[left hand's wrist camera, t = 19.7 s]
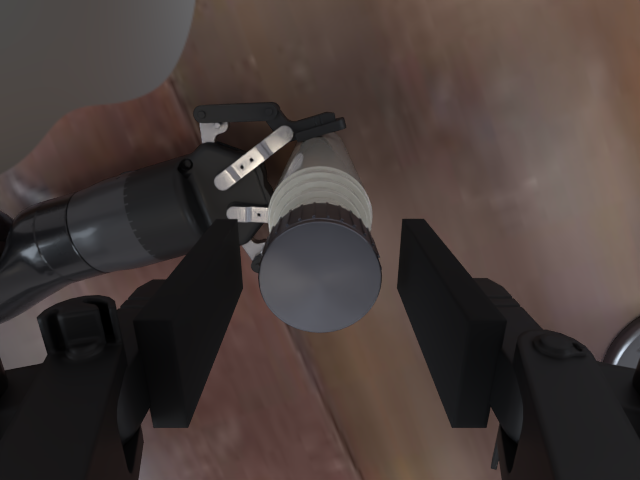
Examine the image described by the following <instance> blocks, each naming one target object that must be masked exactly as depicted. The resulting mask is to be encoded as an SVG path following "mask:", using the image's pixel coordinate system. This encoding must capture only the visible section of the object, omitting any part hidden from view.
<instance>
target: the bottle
mask: <svg viewBox="0 0 640 480" xmlns="http://www.w3.org/2000/svg"><path fill="white" fill-rule="evenodd" d="M313 202H316V203H326V202H329V204H333V205H337V206H338V205H341V207H342V208H345V209H346V210H348V211H350V210H351V211H352V212H353V214H354V215H356V216H357V217H358V218H361V219H362V222H363V224H364V225H365V227H366V228H367V227H368V228H369V231H370V232H371V225H372V207H371V203H370V200H369V197H368V195H367V193H366V191H365V189H364V186H363V184H362V182H361V180H360V178H359V176H358V173H357V171H356V169H355V167H354V165H353V163H352V161H351V158H350V156H349V154H348V152H347V150H346V148H345V145H344V143H343V141H342V140H341V138H340V137H339V136H338V135H337V134H336V133H334V132H332V133H328V134H325V135H322V136H318V137H315V138H311V139H308V140H305V141H302V142H297V143H296V145H295V147H294V149H293V152H292V154H291V156H290V158H289V160H288V162H287V165H286V167H285V169H284V171H283V173H282V175H281V178H280V180H279V182H278V184H277V186H276V188H275V191H274V193H273V195H272V197H271V200H270V203H269V207H268V226H269V232H271V229H272V227H273V226H274V227H275V225H276V224H277V222H278V221H279V218H280V217H283V216H285V215H286V214H287V213H288V212H289V210H293V209H295V208H298V207H300V206H301V205H302V204H303V205H307V204H312V203H313Z"/></svg>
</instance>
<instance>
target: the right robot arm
mask: <svg viewBox="0 0 640 480" xmlns="http://www.w3.org/2000/svg"><path fill="white" fill-rule="evenodd" d="M193 115H194V118H195V120H196V121H197V122H199V123H200V131H201V138H202V144H201V145H199V146H198V147H197V149H196V150H195V151H194V152H193V153H191V154H188V155H185V156H181V157H178V158H175V159H171V160H168V161H165V162H161V163H158V164H155V165H152V166H148V167H145V168H142V169H139V170H135V171H128V172H124V173H121V174H120V175H118V176H115V177H112V178H108V179H106V180H103V181H101V182H98V183H96V184H94V185H92V186H90V187H88V188H86V189H83V190H80V191H77V192H74V193H71V194H67V195H64V196H61V197H57V198H54V199H51V200H47V201H44V202H40V203H38V204H35V205H32V206H30V207H28V208H26V209H24V210H23V211H21V212H20V213H19V214H18V215H17V216H16V217H15V219H14V220H13V219H12V218H11V217H10V216H8V215H7V214H5V213H4V212H2V211H0V324H1V323H4V322H6V321H8V320H10V319H12V318H14V317H16V316H18V315H19V314H21V313H23V312H25V311H26V310H28V309H30V308H31V307H33V306H34V305H36V304H37V303H39V302H40V301H42V300H43V299H45V298H46V297H48V296H50V295H52V294H53V293H55V292H57V291H59V290H60V289H62V288H64V287H65V286H67V285H69V284H71V283H74V282H77V281H81V280H84V279H88V278H91V277H95V276H99V275H102V274H106V273H109V272H114V271H119V270H127V269H134V268H139V267H143V266H147V265H150V264H154V263H158V262H161V261H165V260H169V259H172V258H176V257H179V256H183V255H187V254H188V253H189V251H190V250H191V249H192V248H193V246H194V245H195V244H196V243H197V242H198V240H199V239H200V238H201V237H202V235H203V234H204V233H205V232H206V231H207V229H208V228H209V227H210V226H211V224H212V223H213V222H214V221H215V220H216V219H238V231H239V244H240V246H241V245H242V247H243V248H244V249H245V251H246V252H247V254H248V255H249V257H250V258H251V259H252V264H251V268H252V270H253V271H254V272H256V273H259V264H260V261H261V258H262V256H261V254H262V251H263V248H264V245H265V242H266V240H267V239H262V240H257V239H255V238H253V236H254V235H255V234H256V232H257V231H258V230H259V229H260V227H261V226H262V225H263V223H268V207H269V203H270V200H271V197H272V195H273V193H274V191H273V189H272V187H271V186H270V184H269V183H268V181H267V171H266V168H265V165H264V161H265V160H266V159H267V158H269V157H270V156H271V155H272V154H274V153H275V152H276V151H277V150H279V149H280V148H281V147H283V146H284V145H285V144H287V143H288V142H291V141H294V140H297V142H302V141H305V140H308V139H311V138H315V137H318V136H322V135H325V134H328V133H332V132H335V131H339V130H342V129H345V128H346V124H345V120H344V118H343V117H341V118H337V119H336V118H335V115H334V113H331V112H325V113H322V114H318V115H315V116H312V117H308V118H305V119H302V120H298V121H290V120H288V119H287V118H286V117H285V115H284V114H283V113H282V111H281V110H280V107H279V105H278V104H277V103H275V102H262V103H237V104H213V105H202V106H198V107H196V108H195V109H194V112H193ZM250 121H266V122H267V123H268V125H269V126H270V127H271V129H272V130H273V131H274V132H272V133H271V134H270V135H269V136H267V137H266V138H265V139H263V140H262V141H261V142H259V143H258V144H257V145H256V146H254V147H253V148H252V149H250V150H249V151H248V152H246V151H243V150H241V149H238V148H235V147H232V146H229V145H227V144H224V143H221V142H218V141H217V137H218V135H219V134H220V133H224V132H226V131H228V130H229V128H230V122H250Z"/></svg>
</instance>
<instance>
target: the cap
mask: <svg viewBox="0 0 640 480" xmlns="http://www.w3.org/2000/svg"><path fill="white" fill-rule="evenodd" d="M261 256H262V258H261V261H260V264H259V275H258V279H259V287H260V291H261V294H262V297H263V299H264V301H265V303H266V304H267V306H268V307H269V309H270V310H271V311H272V312H273V313H274V314H275V315H276V316H277V317H278V318H279V319H281V320H282V321H283V322H285V323H287V324H288V325H290V326H292V327H294V328H297V329H300V330H303V331H308V332H317V333H320V332H332V331H336V330H340V329H343V328H346V327H348V326H350V325H352V324H354V323H355V322H357V321H358V320H360V319H361V318H362V317H363V316H364V315H365V314H366V313H367V312H368V311H369V310H370V309H371V307H372V306H373V304H374V303H375V301H376V299H377V297H378V294H379V291H380V288H381V281H382V273H381V270H382V267H381V265H380V262H379V259H378V258H379V257H380V256H379V253H378V251H377V248H376V245H375V242H374V240H373V238H372V236H371V233H370V231H369V228H368V227H367V228H366V227H365V225H364V224H363V222H362V219H361V218H358V217H357V216H356V215H354V214H353V212H352V211H351V210H350V211H348V210H346V209H345V208H342V207H341V205H338V206H337V205H333V204H329V202H326V203H316V202H313V203H312V204H307V205H303V204H302V205H301V206H300V207H298V208H295V209H293V210H289V212H288V213H287V214H286V215H285V216H283V217H280V218H279V221H278V222H277V224H276V225H275V227H274V226H273V227H272V229H271V232H270V235H269V237H267V240H266V242H265V245H264V248H263V251H262V254H261Z"/></svg>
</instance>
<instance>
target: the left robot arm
mask: <svg viewBox="0 0 640 480" xmlns="http://www.w3.org/2000/svg"><path fill="white" fill-rule="evenodd" d="M242 289H243V283H242V270H241V257H240V244H239V231H238V219H216V220H215V221H214V222H213V223H212V224H211V226H210V227H209V228H208V229H207V231H206V232H205V233H204V234H203V235H202V237H201V238H200V239H199V240H198V242H197V243H196V244H195V245H194V246H193V248H192V249H191V250H190V251H189V253H188V254H187V255H186V256H185V257H184V259H183V260H182V261H181V262H180V263H179V265H178V266H177V267H176V268H175V270H174V271H173V272H172V273H171V274H170V276H169V277H168V278H167V279H166V280H151V281H149V282H148V283H146V284H144V285H142V286H140V287H139V288H137V289H136V290H135V291H134V292H133V294H132V295H131V296H130V297H129V298H128V300H126V301H125V302H124V303H123V304H122V305H121V308H120V309H118V310H117V309H116V304H115V301H114V300H113V299H111V298H110V297H106V296H101V295H92V296H82V297H77V298H72V299H69V300H66V301H63V302H60V303H57V304H55V305H53V306H51V307H49V308H48V309H46V310H44V311H43V312H42V313H41V314H40V315H39V316H38V317H37V320H38V324H39V327H40V330H41V334H42V337H43V341H44V344H45V347H46V351H47V354H48V355H47V357H46V359H45V360H44V362H43V363H41V364H37V365H31V366H26V367H21V368H15V369H10V370H4V367H3V364H2V361H1V359H0V480H138V479H139V471H140V464H141V457H142V450H143V443H144V441H143V434H142V429H141V423H142V421H143V419H144V417H145V415H146V414H147V412H148V410H149V408H150V412H151V417H152V422H153V427H154V428H188V427H189V424H190V421H191V419H192V416H193V414H194V411H195V409H196V406H197V404H198V401H199V399H200V396H201V394H202V391H203V388H204V386H205V383H206V381H207V378H208V376H209V373H210V371H211V368H212V366H213V363H214V360H215V358H216V355H217V353H218V350H219V348H220V345H221V343H222V340H223V338H224V335H225V332H226V330H227V327H228V325H229V322H230V320H231V317H232V315H233V312H234V310H235V307H236V305H237V302H238V299H239V297H240V294H241V292H242ZM397 289H398V292H399V294H400V297H401V299H402V302H403V305H404V307H405V310H406V312H407V315H408V317H409V320H410V322H411V325H412V327H413V330H414V332H415V335H416V338H417V340H418V343H419V345H420V348H421V350H422V353H423V355H424V358H425V360H426V363H427V366H428V368H429V371H430V373H431V376H432V378H433V381H434V383H435V386H436V388H437V391H438V394H439V396H440V399H441V401H442V404H443V406H444V409H445V411H446V414H447V416H448V419H449V421H450V424H451V427H452V428H487V422H488V417H489V412H490V407H491V408H492V410H493V411H494V413H495V415H496V417H497V419H498V421H499V422H500V424H499V429H498V434H497V438H496V443H495V448H494V453H493V458H492V464H491V469H497V465H498V461H499V463H500V470H501V478H502V480H640V317H639V318H637V319H636V320H634V321H633V322H632V323H631V324H629V325H628V326H627V327H626V328H625V329H624V330H623V331H622V332H621V333H620V334H619V335H618V336H617V337H616V338H615V340H614V341H613V343H612V344H611V345H610V347H609V349H608V351H607V353H606V355H605V358H604V361H603V362H598V361H596V360H595V358H594V356H593V354H592V353H591V352H590V351H589V350H588V349H587V347H586V346H584V345H583V344H581V343H580V342H578V341H577V340H575V339H573V338H571V337H568V336H566V335H564V334H561V333H558V332H553V331H549V330H543V329H542V328H541V327H540V326H539V325H538V324H537V323H536V322H535V321H534V320H533V318H532V317H531V316H530V315H529V314H528V313H527V312H526V311H525V310H524V309H523V308H522V307H520V305H519V304H518V302H517V301H516V300H515V299H512V296H511V295H510V294H509V293H508V292H507V291H506V290H505V289H504V288H503V287H502V286H501V285H499V284H497V283H495V282H493V281H492V280H490V279H488V278H472V277H471V276H470V274H469V273H468V272H467V271H466V270H465V268H464V267H463V266H462V265H461V263H460V262H459V261H458V260H457V259H456V257H455V256H454V255H453V254H452V253H451V251H450V250H449V249H448V248H447V246H446V245H445V244H444V243H443V242H442V240H441V239H440V238H439V237H438V235H437V234H436V233H435V232H434V231H433V229H432V228H431V227H430V226H429V224H428V223H427V222H426V221H425V220H424V219H402V231H401V244H400V257H399V270H398V283H397Z"/></svg>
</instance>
